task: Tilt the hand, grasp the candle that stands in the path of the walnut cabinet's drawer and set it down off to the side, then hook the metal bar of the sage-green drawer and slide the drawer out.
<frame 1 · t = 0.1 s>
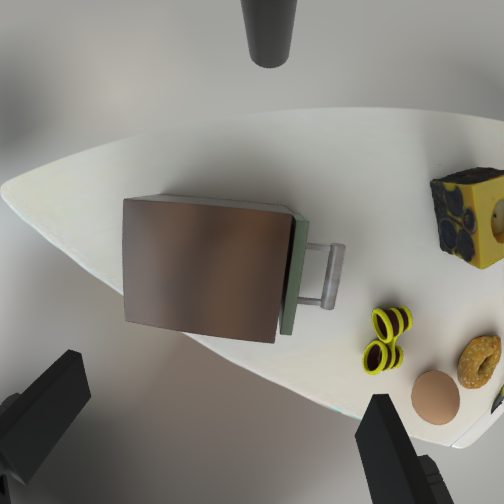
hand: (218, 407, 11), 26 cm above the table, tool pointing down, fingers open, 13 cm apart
bagel: (475, 355, 39), on the table
egg: (422, 378, 40), on the table
candle: (460, 207, 34), on the table
drawer: (250, 265, 32), point 5 cm above the table, slide at 0.5 cm
opera glasses: (382, 332, 38), on the table
cabinet: (215, 250, 37), on the table
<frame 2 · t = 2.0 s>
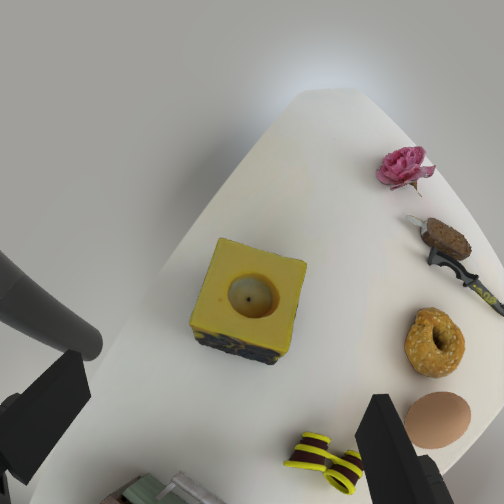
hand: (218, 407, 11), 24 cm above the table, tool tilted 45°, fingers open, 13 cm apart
bagel: (427, 345, 37), on the table
egg: (413, 421, 31), on the table
candle: (245, 319, 38), on the table
flower: (396, 182, 52), on the table
ice cream bar: (435, 240, 46), on the table
knife: (470, 292, 41), on the table
opera glasses: (323, 460, 29), on the table
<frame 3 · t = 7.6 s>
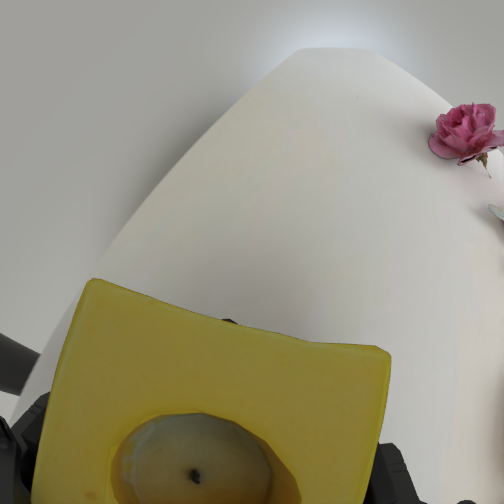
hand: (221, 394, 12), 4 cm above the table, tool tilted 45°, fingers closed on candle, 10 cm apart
candle: (217, 444, 14), on the table, touching gripper
flower: (455, 157, 30), on the table
when the fingers open (4 cm above the table, at t = 15.3 s): candle stays where it is, on the table.
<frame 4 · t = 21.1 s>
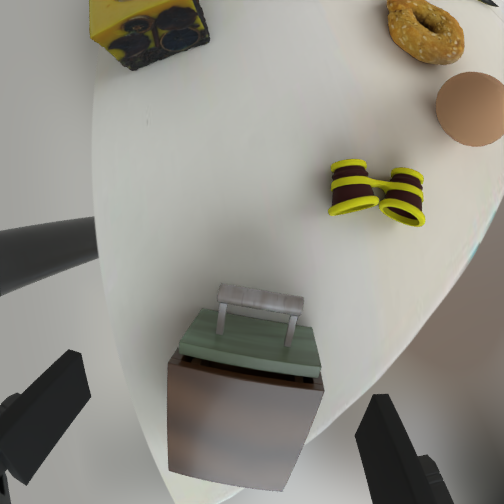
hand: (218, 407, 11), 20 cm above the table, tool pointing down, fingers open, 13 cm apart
bagel: (417, 34, 24), on the table
egg: (447, 119, 26), on the table
candle: (164, 28, 26), on the table
drawer: (246, 378, 27), point 5 cm above the table, slide at 0.5 cm
opera glasses: (371, 193, 28), on the table
cabinet: (244, 386, 33), on the table
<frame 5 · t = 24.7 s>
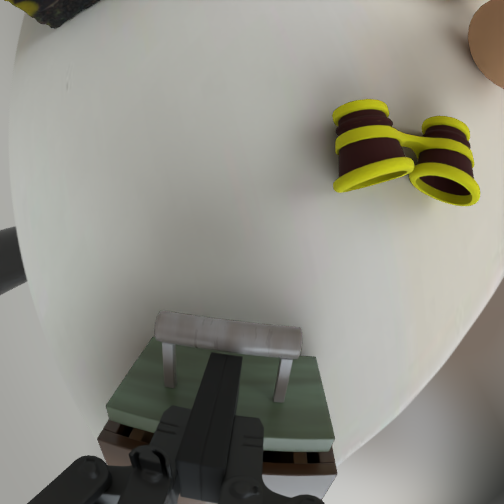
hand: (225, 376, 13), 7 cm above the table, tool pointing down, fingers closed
egg: (481, 62, 15), on the table
drawer: (222, 436, 17), point 5 cm above the table, slide at 0.9 cm, touching gripper
opera glasses: (394, 156, 17), on the table
cabinet: (226, 431, 23), on the table
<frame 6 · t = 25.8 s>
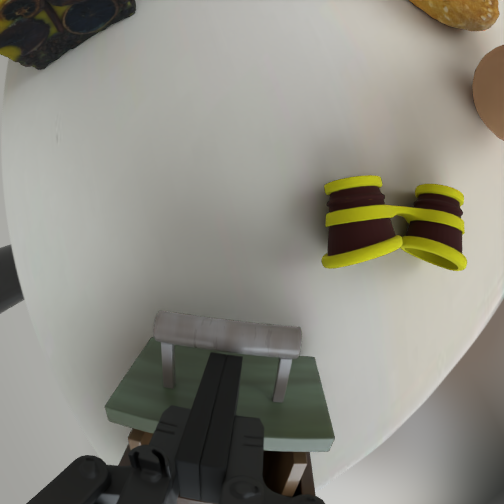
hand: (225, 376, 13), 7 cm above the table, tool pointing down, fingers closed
egg: (483, 106, 16), on the table
candle: (81, 6, 15), on the table
drawer: (221, 437, 17), point 5 cm above the table, slide at 5.2 cm, touching gripper
opera glasses: (385, 220, 18), on the table
cabinet: (223, 458, 24), on the table
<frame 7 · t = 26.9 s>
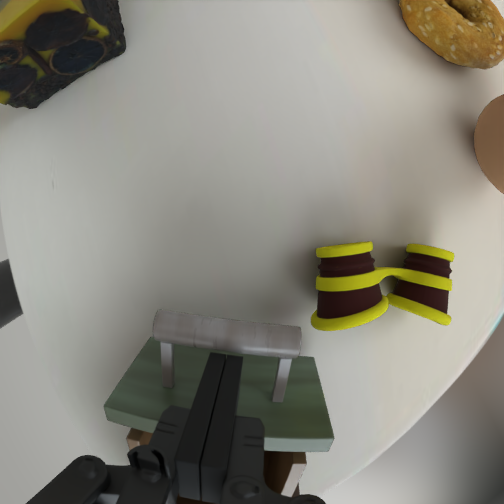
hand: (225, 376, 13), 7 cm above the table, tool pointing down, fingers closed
bagel: (439, 20, 14), on the table
egg: (483, 150, 17), on the table
candle: (71, 39, 16), on the table
drawer: (220, 437, 17), point 5 cm above the table, slide at 9.0 cm, touching gripper
opera glasses: (375, 273, 19), on the table
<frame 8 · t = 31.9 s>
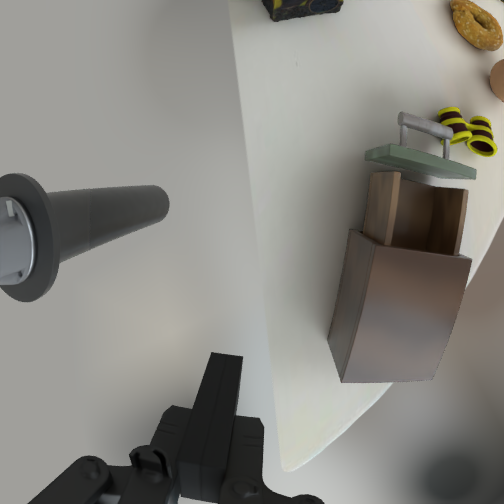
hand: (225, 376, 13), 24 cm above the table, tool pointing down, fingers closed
bagel: (469, 27, 26), on the table
egg: (494, 88, 29), on the table
drawer: (416, 200, 30), point 5 cm above the table, slide at 8.7 cm
opera glasses: (459, 133, 32), on the table
cabinet: (382, 292, 37), on the table
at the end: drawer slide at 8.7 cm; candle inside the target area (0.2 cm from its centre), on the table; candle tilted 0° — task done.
